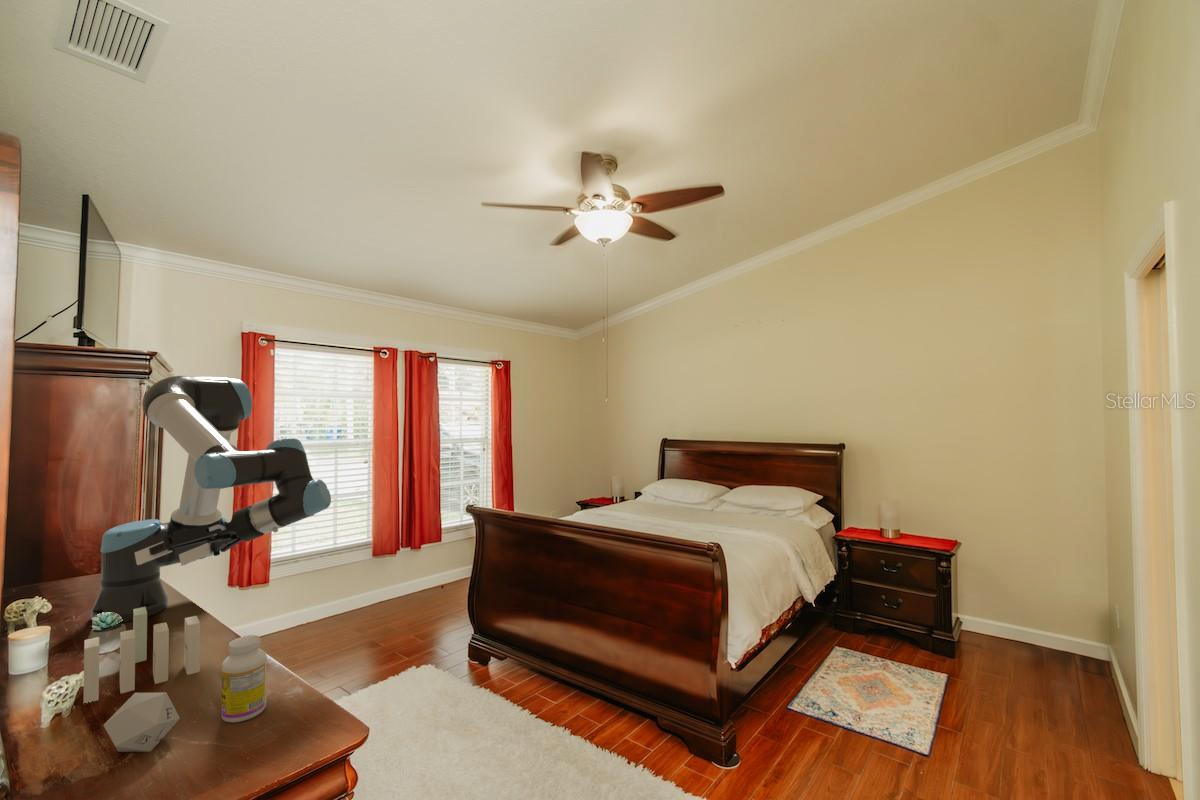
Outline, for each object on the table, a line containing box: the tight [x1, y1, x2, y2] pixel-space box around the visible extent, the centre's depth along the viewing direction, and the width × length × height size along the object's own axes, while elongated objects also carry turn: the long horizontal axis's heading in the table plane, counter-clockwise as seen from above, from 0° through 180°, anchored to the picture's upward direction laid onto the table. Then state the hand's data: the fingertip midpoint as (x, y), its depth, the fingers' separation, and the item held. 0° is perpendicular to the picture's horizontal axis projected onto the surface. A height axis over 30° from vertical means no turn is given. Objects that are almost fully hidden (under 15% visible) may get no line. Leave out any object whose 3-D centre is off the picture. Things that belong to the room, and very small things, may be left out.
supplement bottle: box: [220, 634, 267, 724], centre depth 93 cm, size 7×7×13 cm
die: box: [102, 692, 181, 753], centre depth 84 cm, size 8×9×10 cm
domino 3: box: [132, 607, 148, 664], centre depth 114 cm, size 2×5×10 cm, turn 44°
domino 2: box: [119, 628, 136, 694], centre depth 102 cm, size 2×5×10 cm, turn 44°
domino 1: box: [82, 636, 100, 705], centre depth 99 cm, size 2×5×10 cm, turn 44°
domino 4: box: [183, 615, 201, 676], centre depth 109 cm, size 2×5×10 cm, turn 44°
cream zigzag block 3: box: [152, 622, 170, 685], centre depth 106 cm, size 2×5×10 cm, turn 44°
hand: (160, 559), depth 117 cm, fingers open, 13 cm apart
